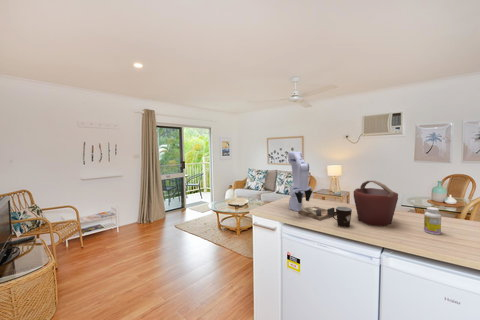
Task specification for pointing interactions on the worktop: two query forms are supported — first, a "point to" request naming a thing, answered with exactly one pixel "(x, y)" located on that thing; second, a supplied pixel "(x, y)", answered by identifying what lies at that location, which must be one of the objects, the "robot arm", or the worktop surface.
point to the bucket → (375, 204)
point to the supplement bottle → (432, 221)
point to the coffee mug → (343, 216)
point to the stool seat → (319, 213)
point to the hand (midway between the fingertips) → (303, 201)
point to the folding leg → (309, 209)
